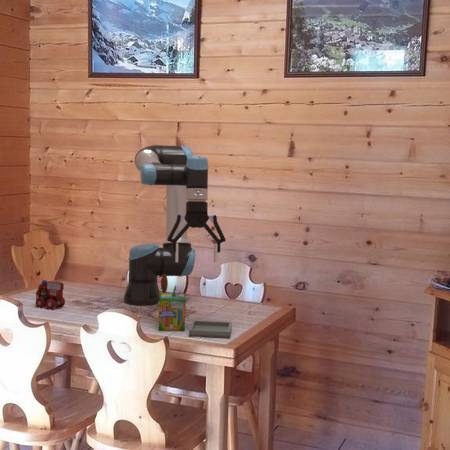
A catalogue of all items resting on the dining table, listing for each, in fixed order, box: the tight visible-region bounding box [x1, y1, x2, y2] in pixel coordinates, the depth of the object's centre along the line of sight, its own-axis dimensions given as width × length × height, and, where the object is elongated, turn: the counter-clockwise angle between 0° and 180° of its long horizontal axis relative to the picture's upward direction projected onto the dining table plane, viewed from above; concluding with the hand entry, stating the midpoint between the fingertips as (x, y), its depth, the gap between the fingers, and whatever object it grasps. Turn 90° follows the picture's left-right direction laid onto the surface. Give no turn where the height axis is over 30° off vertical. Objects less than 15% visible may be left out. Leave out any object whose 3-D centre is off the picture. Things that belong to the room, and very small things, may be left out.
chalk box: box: [157, 285, 187, 332], centre depth 237 cm, size 9×9×15 cm
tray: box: [188, 320, 233, 339], centre depth 233 cm, size 14×14×2 cm
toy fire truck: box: [35, 279, 66, 310], centre depth 263 cm, size 7×12×10 cm, turn 64°
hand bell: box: [152, 274, 169, 320], centre depth 253 cm, size 8×8×16 cm
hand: (196, 262), depth 238 cm, fingers open, 13 cm apart
